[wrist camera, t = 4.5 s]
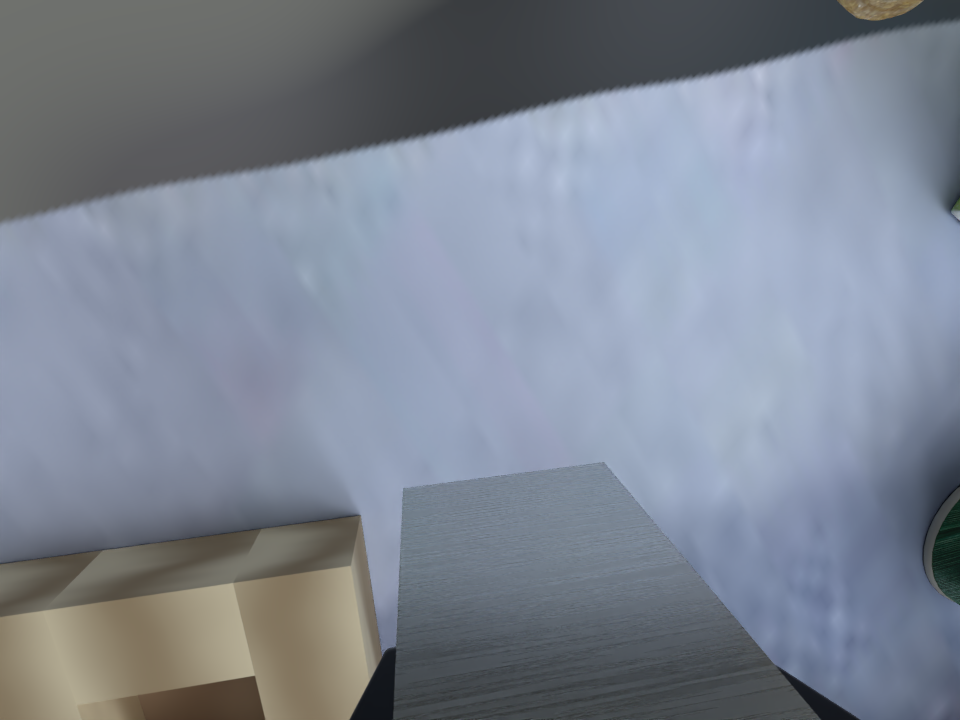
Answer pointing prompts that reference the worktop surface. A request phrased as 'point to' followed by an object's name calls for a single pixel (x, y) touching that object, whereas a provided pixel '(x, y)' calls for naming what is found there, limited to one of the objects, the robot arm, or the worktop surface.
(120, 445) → the worktop surface
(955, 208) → the syrup box
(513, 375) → the worktop surface
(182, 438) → the worktop surface
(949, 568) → the canned tomato
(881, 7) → the sprinkles bottle
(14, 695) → the well block
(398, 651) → the grey rectangular block
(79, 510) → the worktop surface
